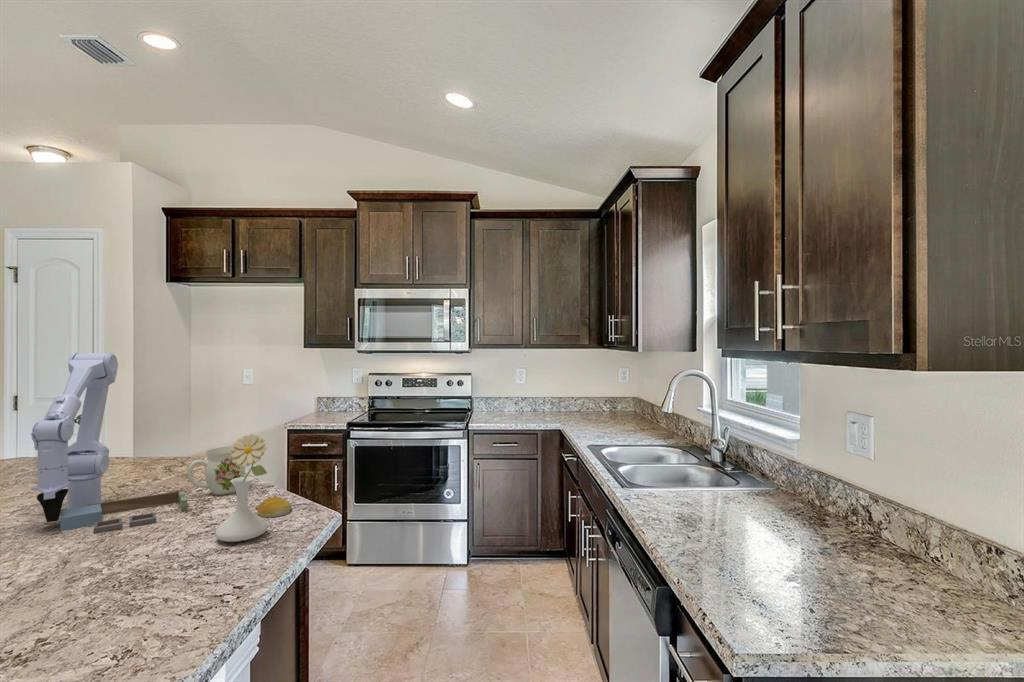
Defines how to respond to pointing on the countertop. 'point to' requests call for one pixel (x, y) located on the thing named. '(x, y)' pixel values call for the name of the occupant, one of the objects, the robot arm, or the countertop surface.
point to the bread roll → (274, 507)
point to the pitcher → (218, 471)
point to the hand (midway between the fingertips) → (52, 520)
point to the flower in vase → (244, 492)
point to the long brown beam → (144, 502)
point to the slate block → (80, 517)
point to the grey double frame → (117, 523)
